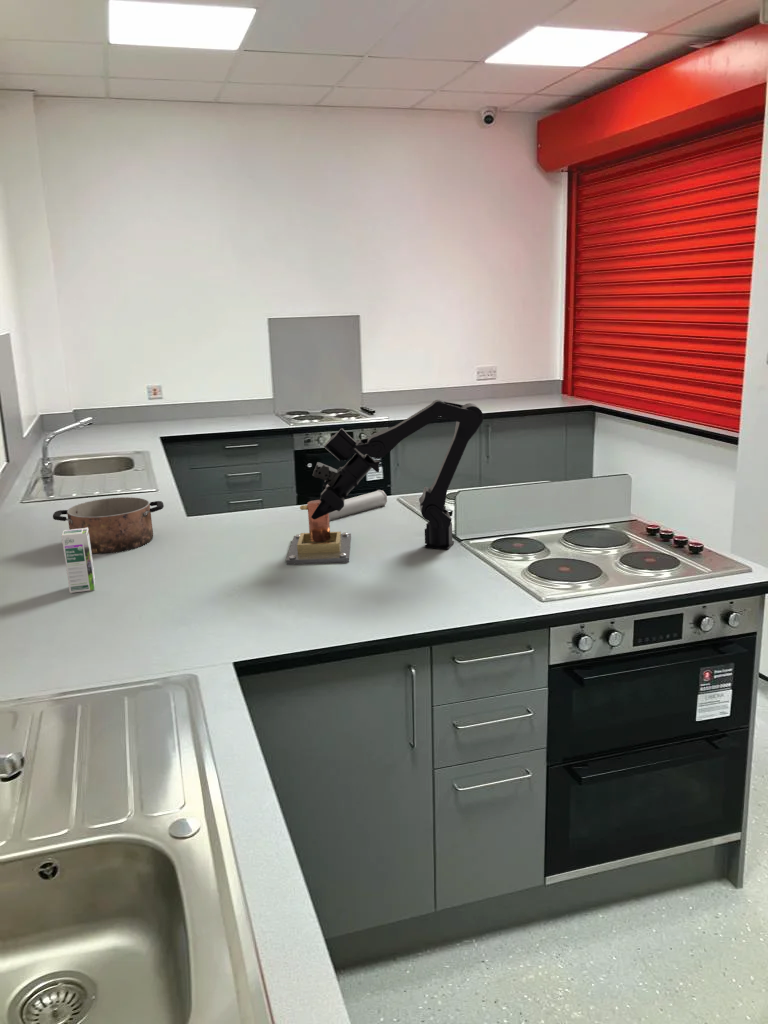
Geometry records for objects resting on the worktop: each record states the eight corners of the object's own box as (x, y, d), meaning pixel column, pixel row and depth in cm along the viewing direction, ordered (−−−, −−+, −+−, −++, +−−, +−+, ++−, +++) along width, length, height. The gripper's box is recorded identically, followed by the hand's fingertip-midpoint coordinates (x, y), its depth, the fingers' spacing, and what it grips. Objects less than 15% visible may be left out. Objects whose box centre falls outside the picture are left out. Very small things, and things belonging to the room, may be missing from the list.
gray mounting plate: (351, 537, 231) (350, 525, 230) (349, 562, 210) (348, 549, 209) (294, 539, 231) (293, 527, 230) (286, 564, 210) (285, 551, 209)
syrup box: (69, 593, 195) (60, 535, 191) (71, 586, 200) (63, 528, 196) (94, 590, 196) (86, 532, 192) (96, 583, 201) (88, 526, 198)
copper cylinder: (330, 535, 222) (328, 499, 219) (329, 541, 217) (327, 504, 214) (303, 536, 222) (300, 500, 219) (301, 542, 217) (298, 505, 214)
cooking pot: (53, 560, 221) (47, 522, 219) (62, 538, 242) (57, 502, 240) (167, 547, 229) (163, 510, 226) (166, 527, 249) (163, 493, 247)
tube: (328, 510, 246) (388, 494, 262) (317, 502, 249) (377, 487, 265) (325, 526, 248) (385, 508, 265) (314, 518, 252) (374, 501, 268)
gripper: (331, 445, 222) (293, 487, 225) (327, 459, 204) (286, 504, 207) (361, 472, 224) (324, 513, 227) (360, 488, 206) (319, 532, 209)
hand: (313, 515), depth 218 cm, fingers closed on copper cylinder, 5 cm apart
